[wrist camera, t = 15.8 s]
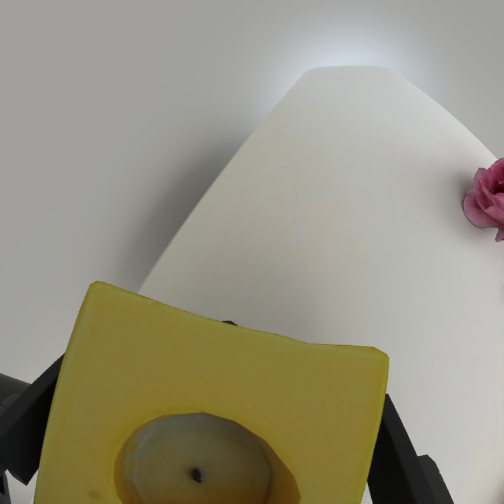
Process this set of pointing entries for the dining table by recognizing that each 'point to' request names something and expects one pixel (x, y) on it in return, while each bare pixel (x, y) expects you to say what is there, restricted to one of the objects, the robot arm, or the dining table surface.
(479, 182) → the flower
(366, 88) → the dining table surface
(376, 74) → the dining table surface
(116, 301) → the candle
